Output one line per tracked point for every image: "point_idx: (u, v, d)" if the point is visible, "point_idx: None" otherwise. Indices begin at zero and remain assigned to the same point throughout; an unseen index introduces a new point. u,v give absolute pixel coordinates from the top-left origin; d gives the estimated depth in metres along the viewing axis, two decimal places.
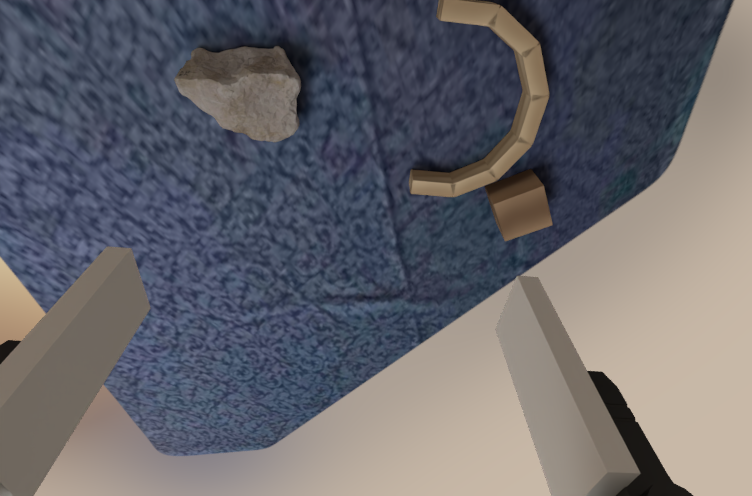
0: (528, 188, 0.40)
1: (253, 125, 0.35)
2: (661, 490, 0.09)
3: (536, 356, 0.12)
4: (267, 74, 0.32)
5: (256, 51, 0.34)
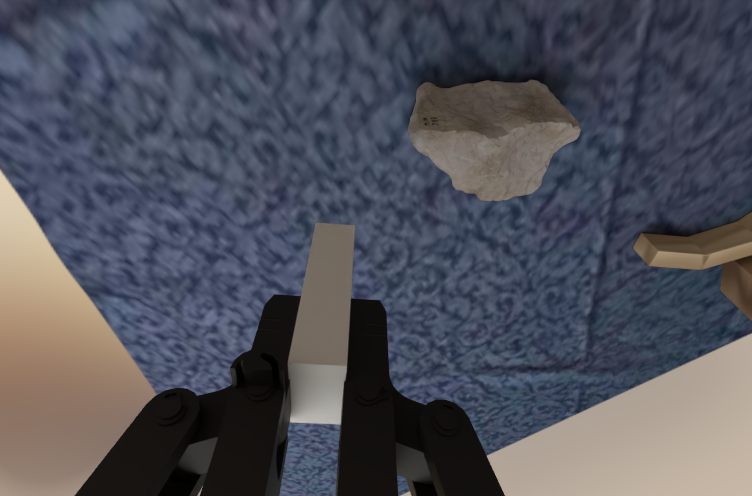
0: None
1: (496, 185, 0.26)
2: (352, 386, 0.10)
3: None
4: (546, 123, 0.23)
5: (507, 88, 0.25)
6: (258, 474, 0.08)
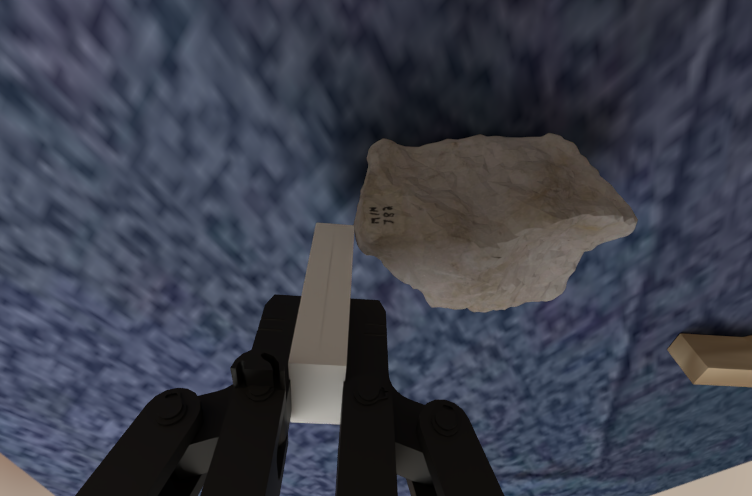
0: None
1: (496, 300, 0.16)
2: (352, 386, 0.10)
3: None
4: (579, 217, 0.13)
5: (510, 148, 0.16)
6: (258, 474, 0.08)
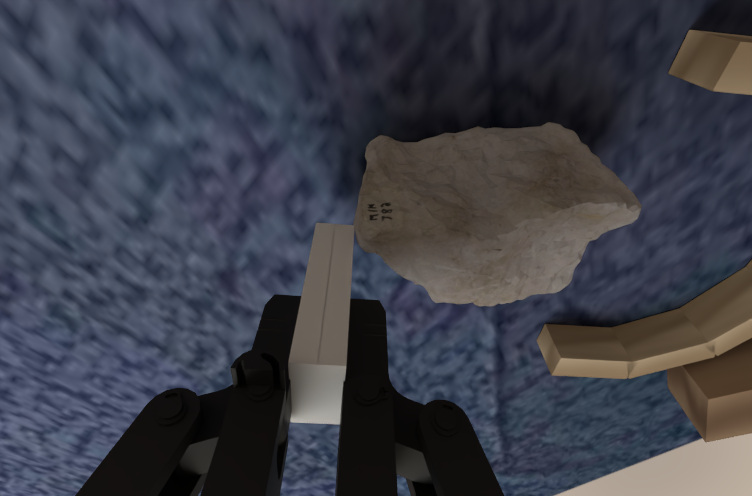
0: None
1: (500, 294, 0.16)
2: (352, 386, 0.10)
3: None
4: (580, 205, 0.13)
5: (509, 139, 0.15)
6: (258, 474, 0.08)
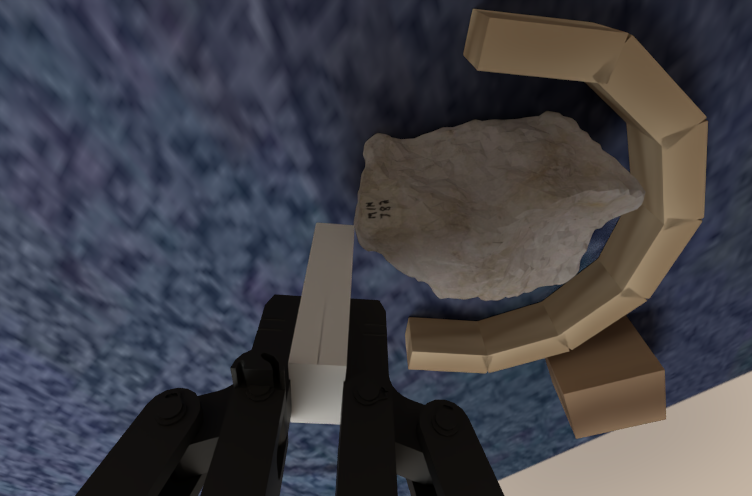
0: (631, 368, 0.21)
1: (506, 287, 0.16)
2: (352, 386, 0.10)
3: None
4: (581, 194, 0.13)
5: (507, 130, 0.15)
6: (259, 474, 0.08)
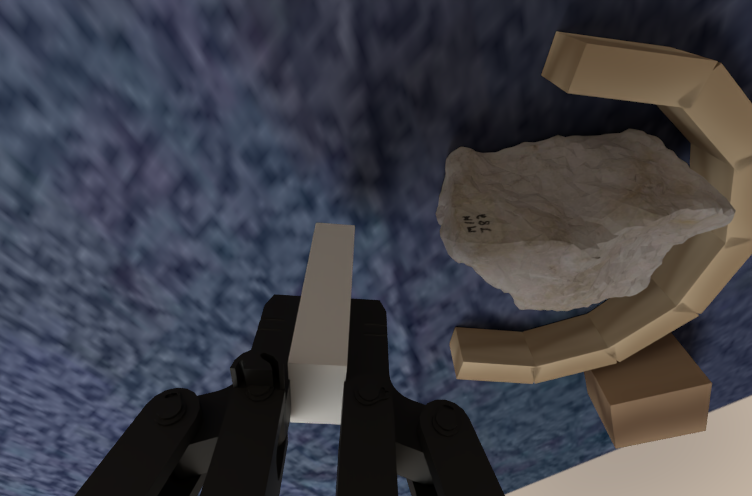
0: (677, 380, 0.21)
1: (584, 299, 0.16)
2: (352, 386, 0.10)
3: None
4: (678, 212, 0.13)
5: (591, 146, 0.16)
6: (258, 474, 0.08)
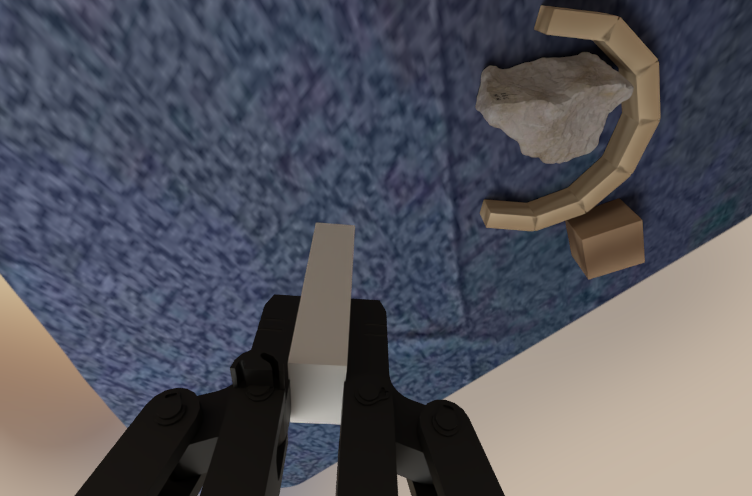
0: (622, 222, 0.35)
1: (560, 147, 0.30)
2: (352, 386, 0.10)
3: None
4: (603, 86, 0.27)
5: (561, 61, 0.29)
6: (258, 474, 0.08)
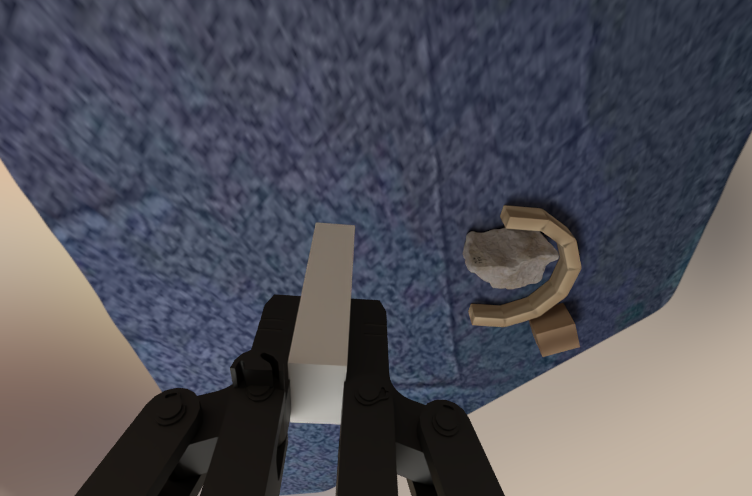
0: (562, 323, 0.52)
1: (516, 284, 0.47)
2: (352, 386, 0.10)
3: None
4: (539, 256, 0.44)
5: (516, 232, 0.46)
6: (258, 474, 0.08)
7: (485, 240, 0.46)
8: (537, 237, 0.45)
